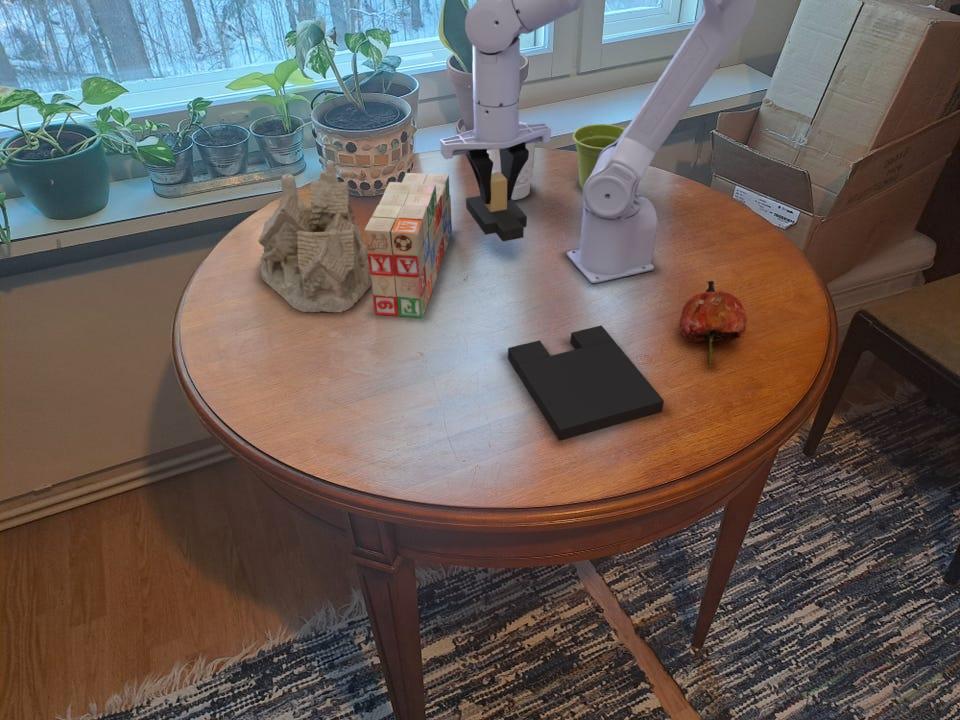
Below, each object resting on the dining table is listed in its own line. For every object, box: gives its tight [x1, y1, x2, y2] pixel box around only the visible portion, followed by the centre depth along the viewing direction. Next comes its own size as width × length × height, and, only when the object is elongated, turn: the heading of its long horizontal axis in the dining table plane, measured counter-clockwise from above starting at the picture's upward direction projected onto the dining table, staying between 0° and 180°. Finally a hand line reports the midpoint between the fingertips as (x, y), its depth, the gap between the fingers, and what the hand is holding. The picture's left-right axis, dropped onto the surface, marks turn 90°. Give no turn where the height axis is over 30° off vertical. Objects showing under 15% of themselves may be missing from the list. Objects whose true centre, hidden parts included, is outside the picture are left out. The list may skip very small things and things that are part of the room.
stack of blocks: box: [364, 172, 453, 319], centre depth 92 cm, size 21×6×12 cm, turn 172°
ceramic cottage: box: [257, 160, 372, 314], centre depth 90 cm, size 16×16×15 cm
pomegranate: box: [678, 280, 748, 366], centre depth 81 cm, size 7×7×10 cm
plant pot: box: [572, 123, 626, 191], centre depth 112 cm, size 9×9×9 cm
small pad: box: [465, 172, 528, 242], centre depth 95 cm, size 10×6×6 cm, turn 20°
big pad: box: [507, 324, 665, 441], centre depth 78 cm, size 14×12×2 cm
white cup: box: [487, 121, 536, 201], centre depth 111 cm, size 8×8×10 cm
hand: (496, 199), depth 96 cm, fingers closed on small pad, 2 cm apart
